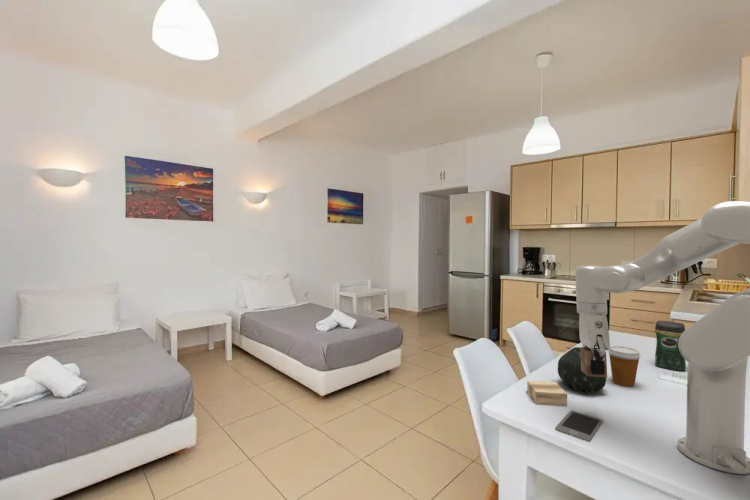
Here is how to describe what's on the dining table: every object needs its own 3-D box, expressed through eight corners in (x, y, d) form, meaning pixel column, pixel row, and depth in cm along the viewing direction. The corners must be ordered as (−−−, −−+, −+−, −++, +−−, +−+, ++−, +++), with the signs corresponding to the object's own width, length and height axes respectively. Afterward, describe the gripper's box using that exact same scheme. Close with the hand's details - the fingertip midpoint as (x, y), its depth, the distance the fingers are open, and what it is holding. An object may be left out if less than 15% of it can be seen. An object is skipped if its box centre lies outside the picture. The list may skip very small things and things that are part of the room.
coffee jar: (686, 367, 138) (687, 322, 138) (685, 373, 132) (686, 325, 132) (655, 362, 145) (656, 318, 145) (653, 366, 139) (653, 321, 139)
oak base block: (567, 406, 105) (567, 393, 105) (535, 404, 106) (536, 391, 106) (555, 394, 114) (555, 382, 113) (527, 392, 115) (527, 380, 115)
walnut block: (607, 377, 97) (606, 352, 97) (587, 376, 98) (586, 351, 98) (599, 371, 101) (599, 347, 102) (581, 370, 103) (580, 347, 103)
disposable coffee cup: (646, 389, 117) (646, 354, 116) (614, 387, 119) (615, 352, 118) (631, 379, 126) (631, 346, 126) (602, 377, 128) (603, 345, 128)
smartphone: (570, 411, 102) (571, 409, 102) (603, 422, 96) (603, 419, 96) (554, 430, 91) (554, 428, 91) (589, 443, 85) (589, 440, 85)
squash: (606, 367, 123) (575, 334, 125) (624, 385, 108) (589, 347, 110) (572, 389, 126) (543, 357, 128) (585, 410, 112) (552, 373, 114)
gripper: (619, 312, 91) (622, 382, 90) (594, 304, 107) (596, 362, 107) (588, 312, 93) (590, 380, 92) (568, 303, 109) (570, 361, 109)
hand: (593, 370), depth 100 cm, fingers closed on walnut block, 5 cm apart
